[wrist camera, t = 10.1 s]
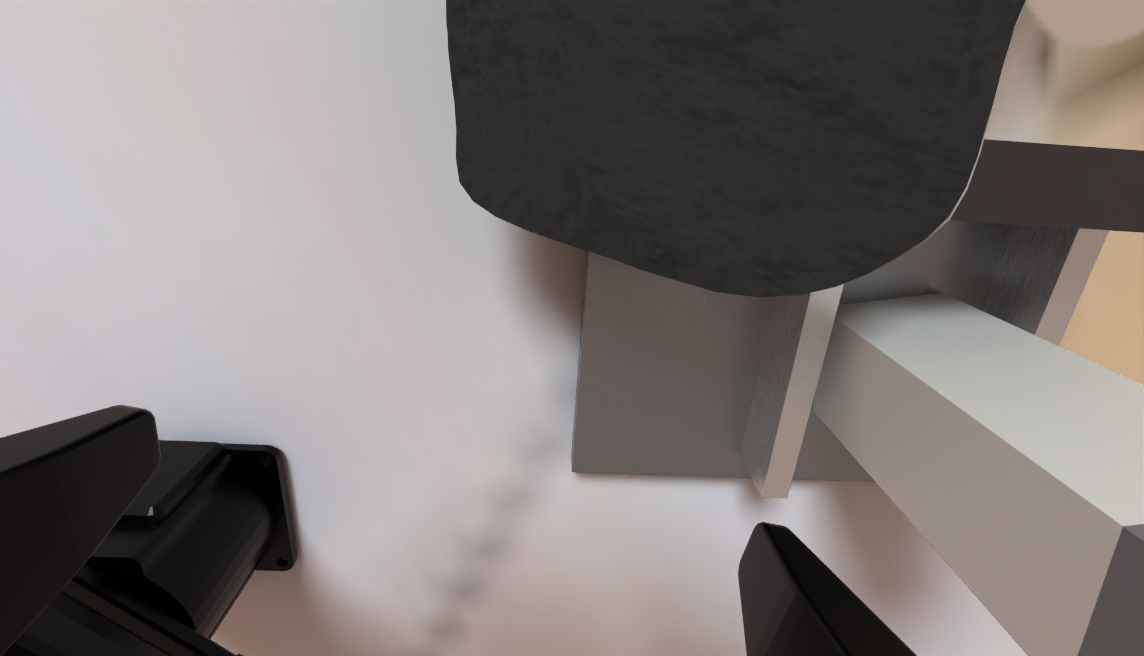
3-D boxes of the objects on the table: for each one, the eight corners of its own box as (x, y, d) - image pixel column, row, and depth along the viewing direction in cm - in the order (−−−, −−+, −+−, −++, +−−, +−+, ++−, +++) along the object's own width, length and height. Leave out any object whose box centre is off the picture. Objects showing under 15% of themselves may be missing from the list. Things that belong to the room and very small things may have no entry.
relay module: (929, 397, 22) (1360, 722, 10) (813, 410, 22) (1110, 749, 10) (946, 292, 20) (1486, 537, 8) (820, 306, 20) (1185, 570, 9)
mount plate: (922, 469, 24) (1032, 575, 19) (571, 457, 23) (577, 565, 18) (1043, 144, 19) (1244, 157, 14) (598, 113, 18) (618, 113, 13)
